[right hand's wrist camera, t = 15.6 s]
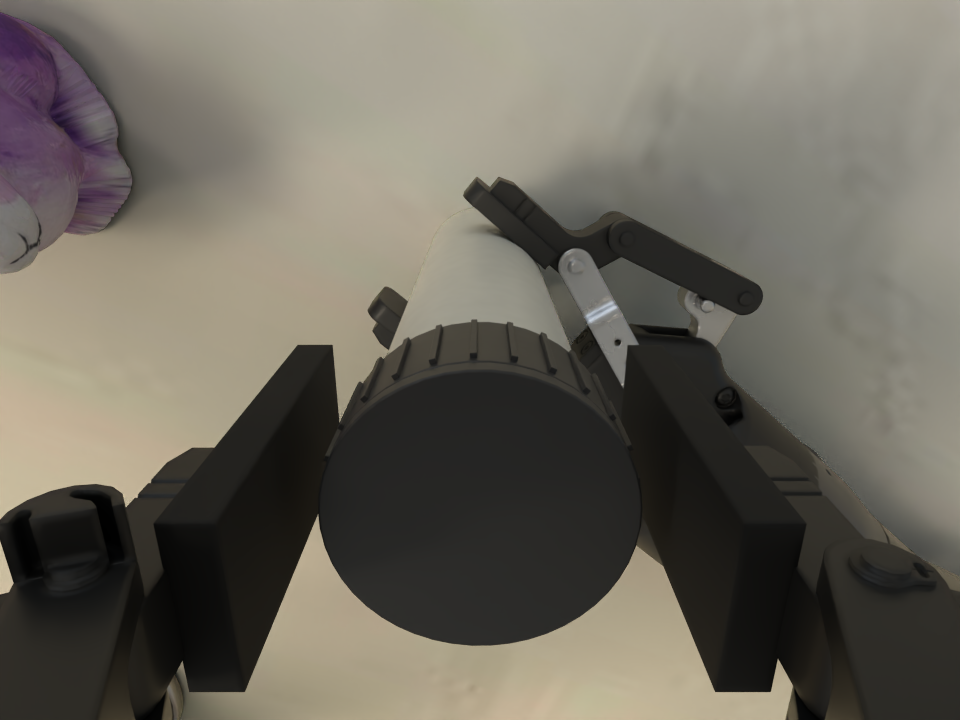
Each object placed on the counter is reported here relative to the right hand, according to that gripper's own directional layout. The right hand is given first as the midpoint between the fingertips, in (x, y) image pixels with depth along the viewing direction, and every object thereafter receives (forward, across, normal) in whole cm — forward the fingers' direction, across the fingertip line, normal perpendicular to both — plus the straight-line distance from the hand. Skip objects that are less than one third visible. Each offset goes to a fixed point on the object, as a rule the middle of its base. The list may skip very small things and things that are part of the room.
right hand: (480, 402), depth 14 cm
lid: (-4, 0, 0) cm, 4 cm away
